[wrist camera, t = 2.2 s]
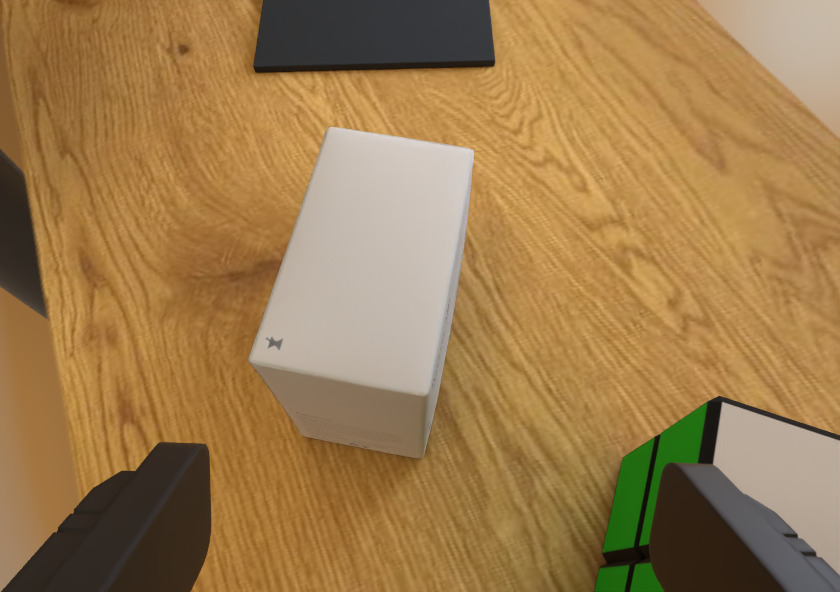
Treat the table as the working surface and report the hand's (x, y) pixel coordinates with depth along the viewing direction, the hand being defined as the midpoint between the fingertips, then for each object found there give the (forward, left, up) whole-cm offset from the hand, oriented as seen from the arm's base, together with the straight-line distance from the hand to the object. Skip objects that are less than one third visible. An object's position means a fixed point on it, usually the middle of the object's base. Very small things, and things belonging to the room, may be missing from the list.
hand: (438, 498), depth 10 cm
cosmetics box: (-2, +10, -18) cm, 20 cm away
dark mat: (-3, +36, -18) cm, 40 cm away
